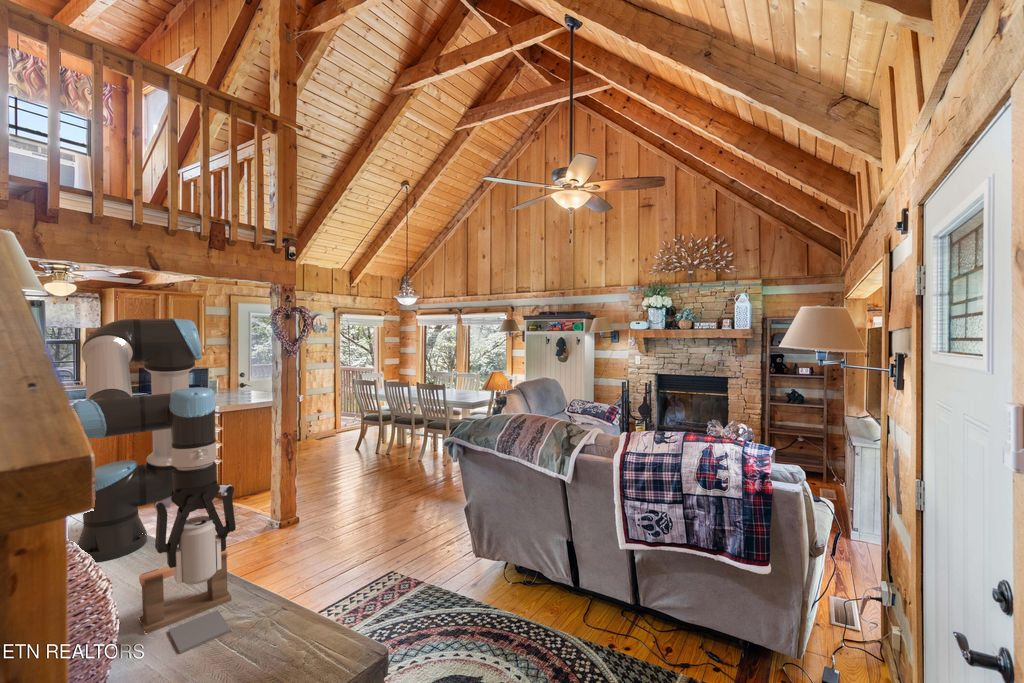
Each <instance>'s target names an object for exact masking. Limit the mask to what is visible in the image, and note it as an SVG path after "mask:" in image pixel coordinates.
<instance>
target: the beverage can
mask: <svg viewBox="0 0 1024 683" xmlns="http://www.w3.org/2000/svg"><path fill="white" fill-rule="evenodd" d="M215 535H216V530H215V524H214V523H213V520H212V519H211V518H210V517H209V515H207V516H206V515H203V516H195V517H191V518H187V520H186V523H185V525H184V528H183V531H182V534H181V537H180V540H179V543H178V548H179V550H181V565H182V584H186V585H193V586H194V585H198V584H202V583H205V582H207V580H208V579H210V578H211V577H212V576H213V575H214V574H215V572H216V536H215Z"/></svg>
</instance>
